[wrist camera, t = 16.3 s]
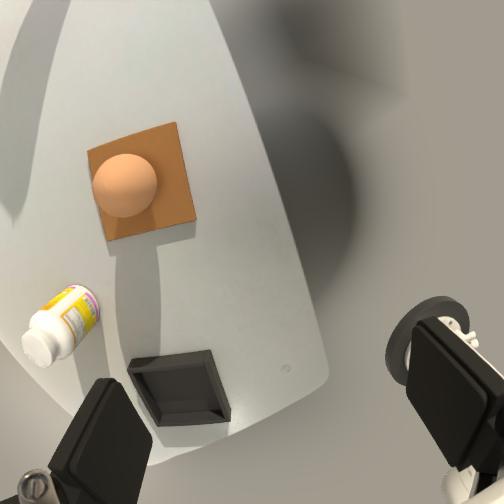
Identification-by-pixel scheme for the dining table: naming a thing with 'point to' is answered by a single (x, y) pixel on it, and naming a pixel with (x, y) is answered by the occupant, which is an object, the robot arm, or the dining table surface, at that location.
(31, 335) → the supplement bottle
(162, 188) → the plate
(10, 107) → the dining table surface
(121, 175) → the egg
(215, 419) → the tray
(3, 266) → the dining table surface
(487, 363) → the robot arm
